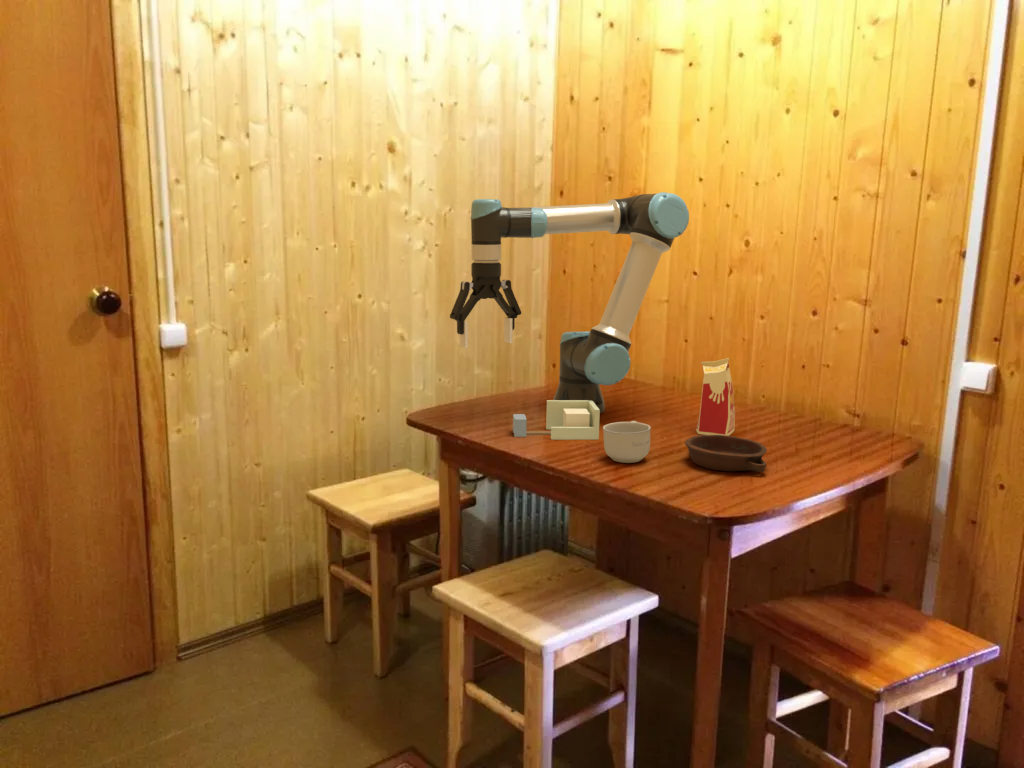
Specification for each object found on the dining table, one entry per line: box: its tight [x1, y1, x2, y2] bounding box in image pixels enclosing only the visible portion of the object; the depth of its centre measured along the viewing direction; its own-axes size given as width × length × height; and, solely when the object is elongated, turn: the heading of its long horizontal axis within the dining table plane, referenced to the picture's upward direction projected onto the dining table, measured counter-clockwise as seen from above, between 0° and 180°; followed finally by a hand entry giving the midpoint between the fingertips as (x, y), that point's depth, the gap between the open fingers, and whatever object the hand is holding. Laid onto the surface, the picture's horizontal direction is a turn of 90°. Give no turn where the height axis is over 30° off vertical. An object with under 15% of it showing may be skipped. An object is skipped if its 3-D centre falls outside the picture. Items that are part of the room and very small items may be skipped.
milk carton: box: [695, 357, 736, 436], centre depth 211 cm, size 9×9×20 cm
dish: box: [684, 434, 768, 473], centre depth 184 cm, size 18×22×5 cm
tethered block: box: [512, 409, 590, 438], centre depth 207 cm, size 19×6×6 cm, turn 94°
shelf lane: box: [545, 399, 601, 441], centre depth 207 cm, size 12×11×8 cm
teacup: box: [602, 420, 652, 464], centre depth 187 cm, size 14×11×8 cm
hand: (486, 344), depth 209 cm, fingers open, 13 cm apart
